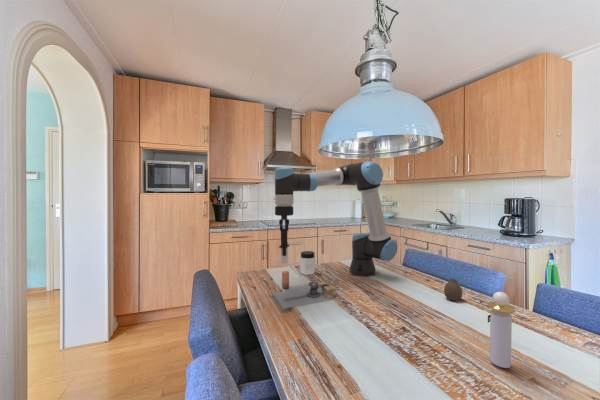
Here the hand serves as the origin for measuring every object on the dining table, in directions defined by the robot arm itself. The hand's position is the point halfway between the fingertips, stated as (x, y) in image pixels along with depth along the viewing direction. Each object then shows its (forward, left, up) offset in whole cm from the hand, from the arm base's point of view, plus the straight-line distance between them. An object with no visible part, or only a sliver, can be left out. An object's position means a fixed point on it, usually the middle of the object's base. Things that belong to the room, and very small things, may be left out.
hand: (284, 262), depth 107 cm
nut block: (-21, 0, -17) cm, 27 cm away
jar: (-27, -40, -19) cm, 52 cm away
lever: (-11, -4, -16) cm, 20 cm away
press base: (-11, -5, -19) cm, 22 cm away
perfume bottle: (-44, +56, -19) cm, 73 cm away
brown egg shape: (-71, +20, -19) cm, 76 cm away
